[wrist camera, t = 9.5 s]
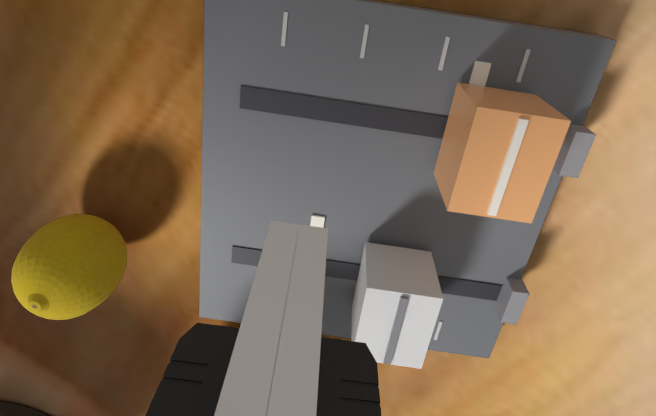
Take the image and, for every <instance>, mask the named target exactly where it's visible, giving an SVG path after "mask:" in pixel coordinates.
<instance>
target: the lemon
mask: <svg viewBox="0 0 656 416" xmlns="http://www.w3.org/2000/svg"><path fill="white" fill-rule="evenodd" d="M126 265H127V248H126V244H125V241H124V239H123V237H122V236H121V234H120V232H119V231H118V230H117V229H116V228H115V227H114V226H113V225H112V224H111V223H109V222H108V221H106V220H104V219H102V218H100V217H96V216H93V215H88V214H74V215H68V216H63V217H60V218H58V219H56V220H54V221H52V222H50V223H48V224H46V225H44V226H43V227H41V228H40V229H39V230H37V231H36V232H35V233H34V234H33V235H32V236H31V237H30V238H29V239H28V240H27V242H26V243H25V244H24V245H23V247H22V248H21V250H20V252H19V253H18V255H17V257H16V260H15V262H14V264H13V268H12V276H11V283H12V287H13V291H14V294H15V296H16V297H17V299H18V301H19V302H20V303H21V304H22V305H23V307H24V308H26V309H27V310H28V311H29V312H31V313H33V314H35V315H37V316H40V317H43V318H46V319H52V320H66V319H71V318H75V317H78V316H81V315H83V314H85V313H87V312H89V311H90V310H92V309H94V308H95V307H97V306H98V305H100V304H101V303H102V302H103V301H105V300H106V299H107V298H108V297H109V295H110V294H111V293H112V292H113V291H114V289H115V288H116V287H117V286H118V284H119V283H120V281H121V279H122V276H123V274H124V271H125V268H126Z"/></svg>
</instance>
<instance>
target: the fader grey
mask: <svg viewBox="0 0 656 416" xmlns="http://www.w3.org/2000/svg"><path fill="white" fill-rule="evenodd" d="M442 302H443V296H442V292H441V288H440V284H439V280H438V276H437V272H436V268H435V264H434V260H433V257H432V253H431V252H430V251H423V250H417V249H410V248H403V247H396V246H389V245H382V244H376V243H369V242H365V246H364V251H363V255H362V260H361V265H360V270H359V275H358V280H357V285H356V290H355V294H354V299H353V304H352V334H351V341H354V342H362V343H366V345H367V346H368V348H369V350H370V352H371V353H372V355H373V357H374V358H375V360H376V362H378V363H385V364H392V365H399V366H406V367H413V368H420V369H421V368H422V365H423V362H424V359H425V355H426V352H427V349H428V346H429V343H430V340H431V336H432V333H433V330H434V327H435V324H436V321H437V317H438V314H439V311H440V308H441V305H442Z"/></svg>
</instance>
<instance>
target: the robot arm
mask: <svg viewBox="0 0 656 416" xmlns="http://www.w3.org/2000/svg"><path fill="white" fill-rule="evenodd" d="M327 237H328V228H322V227H314V226H307V225H300V224H292V223H285V222H278V221H271V222H270V226H269V229H268V233H267V236H266V239H265V243H264V246H263V250H262V253H261V257H260V260H259V263H258V267H257V270H256V274H255V277H254V281H253V284H252V287H251V291H250V294H249V298H248V301H247V305H246V308H245V311H244V315H243V318H242V322H241V325H240V328H233V327H225V326H218V325H210V324H202V323H197V324H196V325H194V326H193V327H192V328H191V329H190V330H189V331H188V332H187V333H186V334H185V335H183V336H182V337H181V338H180V339H179V341H178V344H177V346H176V348H175V350H174V353H173V355H172V357H171V359H170V364H168V366H167V368H166V371H165V373H164V375H163V379H162V381H161V382H160V384H159V386H158V389H157V391H156V393H155V395H154V398H153V400H152V402H151V404H150V407H149V409H148V411H147V413H146V415H145V416H381V407H380V395H379V388H378V385H379V383H378V370H377V362H376V360H375V358H374V357H373V355H372V353H371V352H370V350H369V348H368V346H367V345H366V343H362V342H354V341H346V340H338V339H331V338H323V337H321V332H322V316H323V300H324V284H325V268H326V252H327ZM0 416H48V415H46V414H44V413H41V412H39V411H36V410H34V409H31V408H28V407H24V406H21V405H17V404H13V403H7V402H1V401H0Z"/></svg>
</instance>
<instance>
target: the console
mask: <svg viewBox="0 0 656 416" xmlns="http://www.w3.org/2000/svg"><path fill="white" fill-rule="evenodd" d="M615 43H616V40H613V39H610V38H606V37H603V36H600V35H595V34H589V33H583V32H576V31H570V30H563V29H557V28H550V27H544V26H538V25H531V24H525V23H518V22H512V21H505V20H499V19H492V18H486V17H480V16H473V15H467V14H460V13H454V12H447V11H441V10H435V9H428V8H422V7H415V6H409V5H402V4H396V3H389V2H383V1H377V0H204V60H203V121H202V182H201V243H200V304H199V317H203V318H210V319H217V320H224V321H231V322H238V323H241V322H242V318H243V315H244V311H245V308H246V305H247V301H248V298H249V294H250V291H251V287H252V284H253V281H254V277H255V274H256V270H257V267H258V263H259V260H260V257H261V253H262V250H263V246H264V243H265V239H266V236H267V233H268V229H269V226H270V222H271V221H278V222H285V223H292V224H300V225H307V226H314V227H322V228H328V237H327V252H326V268H325V284H324V300H323V316H322V332H321V334H322V335H329V336H336V337H343V338H350V339H351V334H352V304H353V299H354V294H355V290H356V285H357V280H358V275H359V270H360V265H361V260H362V255H363V251H364V246H365V242H369V243H376V244H382V245H389V246H396V247H403V248H410V249H417V250H423V251H430V252H431V253H432V257H433V260H434V264H435V268H436V272H437V276H438V280H439V284H440V288H441V292H442V296H443V302H442V305H441V308H440V311H439V314H438V317H437V321H436V324H435V327H434V330H433V333H432V336H431V340H430V343H429V346H428V349H427V350H434V351H441V352H448V353H455V354H462V355H469V356H476V357H483V358H489V357H490V355H491V352H492V350H493V347H494V345H495V342H496V340H497V337H498V335H499V332H500V330H501V327H502V325H503V323H509V324H516V325H517V322H518V320H519V317H520V315H521V313H522V310H523V308H524V305H525V303H526V301H527V298H528V296H529V292H528V290H527V288H526V286H525V284H524V282H523V281H522V280H521V277H522V275H523V272H524V270H525V267H526V265H527V262H528V260H529V257H530V255H531V252H532V250H533V247H534V245H535V242H536V240H537V237H538V235H539V232H540V230H541V227H542V225H543V222H544V220H545V217H546V215H547V212H548V210H549V207H550V205H551V202H552V200H553V198H554V195H555V193H556V190H557V188H558V185H559V183H560V180H561V178H562V176H566V177H573V178H578V177H579V174H580V172H581V169H582V167H583V165H584V162H585V160H586V157H587V155H588V153H589V150H590V148H591V145H592V143H593V141H594V138H595V136H596V134H594V133H593V132H592V131H590V130H589V129H588V128H586V127H585V126H582V125H583V123H584V120H585V118H586V115H587V113H588V110H589V108H590V105H591V103H592V100H593V98H594V95H595V93H596V90H597V88H598V85H599V83H600V80H601V78H602V75H603V73H604V70H605V68H606V65H607V63H608V60H609V58H610V55H611V53H612V50H613V48H614V45H615ZM457 82H458V83H465V84H471V85H478V86H484V87H491V88H497V89H504V90H510V91H517V92H523V93H530V94H536V95H537V96H538V97H540V98H541V99H543V100H544V101H545V102H547V103H548V104H549V105H551V106H552V107H553V108H555V109H556V110H557V111H559V112H560V113H561V114H563V115H564V116H565V117H567V118H568V119H569V120H571V123H570V126H569V128H568V131H567V133H566V136H565V139H564V141H563V144H562V146H561V149H560V151H559V154H558V157H557V159H556V162H555V164H554V167H553V169H552V172H551V175H550V177H549V180H548V182H547V185H546V187H545V190H544V193H543V195H542V198H541V200H540V203H539V206H538V208H537V211H536V213H535V216H534V218H533V221H532V224H531V223H524V222H518V221H511V220H504V219H497V218H491V217H484V216H477V215H470V214H464V213H457V212H450V211H447V209H446V206H445V203H444V201H443V198H442V195H441V192H440V190H439V187H438V184H437V181H436V179H435V176H434V169H435V166H436V162H437V158H438V154H439V150H440V147H441V143H442V139H443V135H444V131H445V128H446V124H447V120H448V116H449V112H450V108H451V105H452V101H453V97H454V93H455V89H456V86H457Z"/></svg>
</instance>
